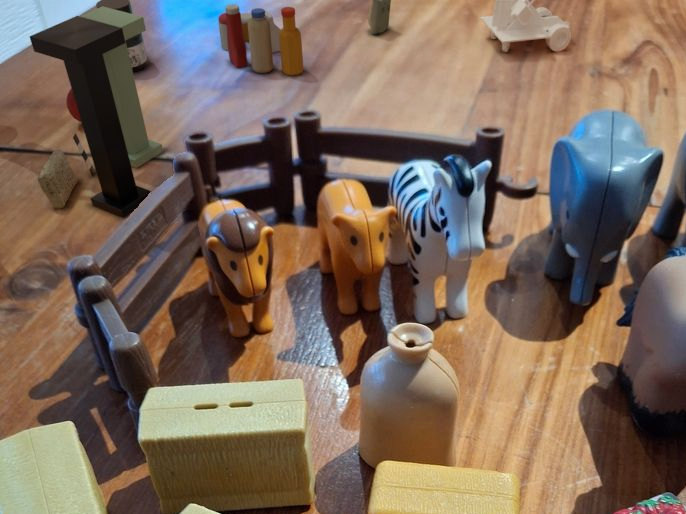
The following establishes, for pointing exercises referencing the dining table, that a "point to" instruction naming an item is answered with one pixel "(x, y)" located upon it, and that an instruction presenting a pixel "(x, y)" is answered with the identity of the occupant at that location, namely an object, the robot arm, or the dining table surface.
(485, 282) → the dining table surface
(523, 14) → the catapult
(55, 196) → the cuneiform tablet
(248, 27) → the toy food
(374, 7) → the olive upright narrow post
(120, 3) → the ink bottle
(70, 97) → the onion
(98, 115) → the tall stand
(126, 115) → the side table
